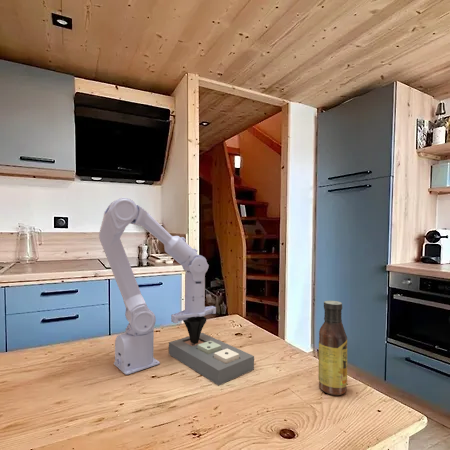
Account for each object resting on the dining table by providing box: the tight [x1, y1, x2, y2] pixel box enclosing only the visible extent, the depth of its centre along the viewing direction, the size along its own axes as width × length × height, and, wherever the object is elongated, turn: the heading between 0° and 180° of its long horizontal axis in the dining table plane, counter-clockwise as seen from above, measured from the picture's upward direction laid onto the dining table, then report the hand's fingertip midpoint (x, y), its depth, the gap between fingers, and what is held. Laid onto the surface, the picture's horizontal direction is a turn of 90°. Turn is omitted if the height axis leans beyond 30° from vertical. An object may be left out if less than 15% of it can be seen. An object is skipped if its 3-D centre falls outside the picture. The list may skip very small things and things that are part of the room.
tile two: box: [198, 341, 221, 354], centre depth 83 cm, size 5×5×2 cm
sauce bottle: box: [317, 300, 348, 396], centre depth 70 cm, size 7×6×20 cm
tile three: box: [185, 340, 204, 346], centre depth 89 cm, size 5×5×2 cm
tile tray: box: [168, 332, 255, 386], centre depth 83 cm, size 12×22×4 cm, turn 42°
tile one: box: [214, 348, 239, 364], centre depth 78 cm, size 5×5×2 cm
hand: (194, 342), depth 89 cm, fingers closed, pressing on tile three
